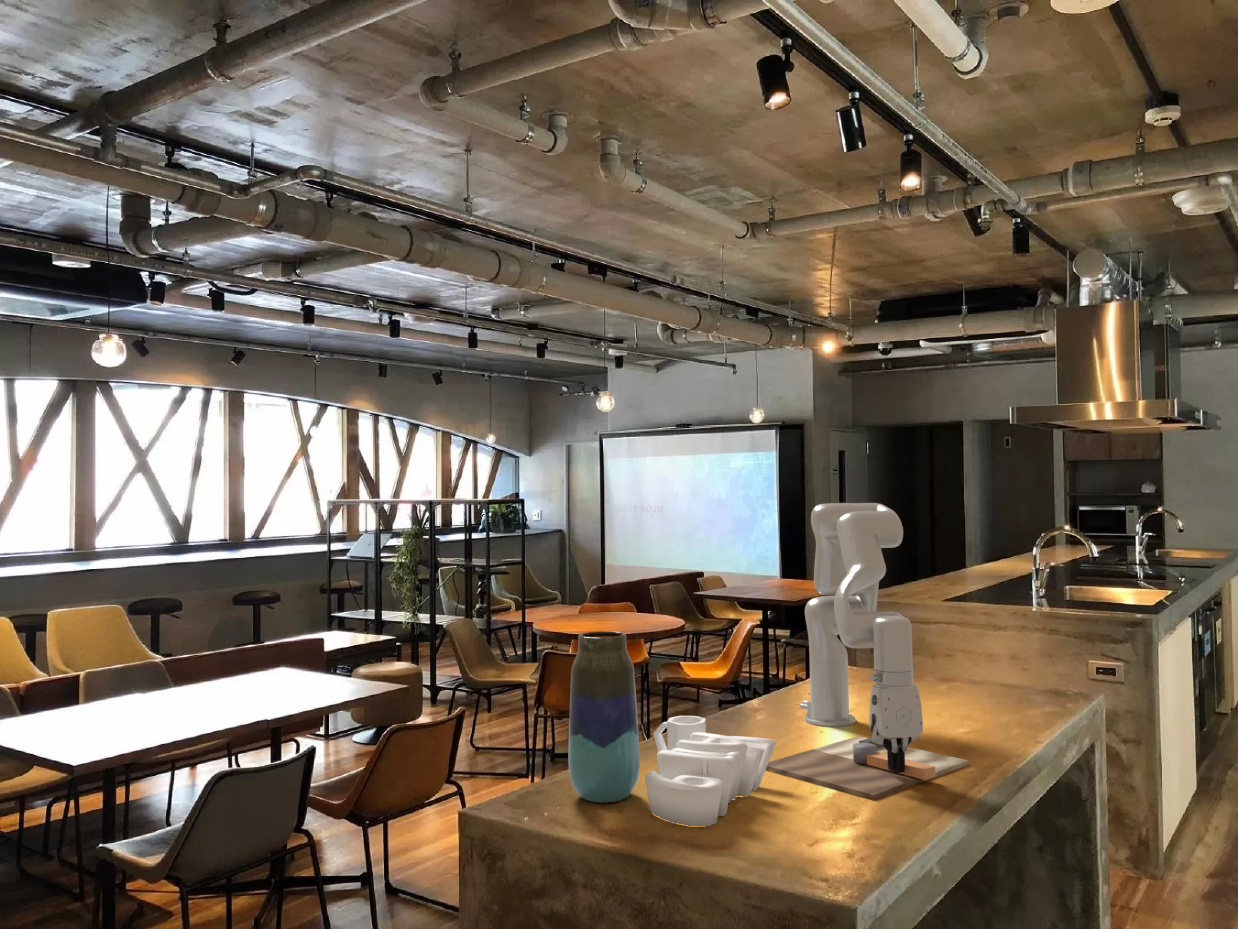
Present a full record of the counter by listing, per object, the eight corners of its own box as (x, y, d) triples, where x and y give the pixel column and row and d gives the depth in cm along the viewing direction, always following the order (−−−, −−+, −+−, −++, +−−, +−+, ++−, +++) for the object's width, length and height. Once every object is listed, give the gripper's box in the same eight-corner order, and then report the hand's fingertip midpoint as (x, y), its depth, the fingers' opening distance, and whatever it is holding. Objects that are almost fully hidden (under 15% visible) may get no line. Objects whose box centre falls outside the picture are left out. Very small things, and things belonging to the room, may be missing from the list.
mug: (713, 764, 204) (712, 718, 205) (695, 774, 197) (694, 726, 197) (664, 756, 211) (663, 712, 211) (645, 766, 203) (644, 720, 204)
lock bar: (848, 760, 201) (848, 745, 201) (863, 756, 204) (862, 741, 204) (922, 780, 186) (922, 764, 186) (937, 776, 189) (936, 759, 189)
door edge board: (761, 769, 200) (760, 754, 200) (858, 740, 222) (858, 727, 222) (873, 800, 179) (872, 784, 179) (969, 765, 200) (968, 751, 200)
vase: (616, 813, 174) (613, 641, 175) (554, 801, 181) (552, 636, 182) (653, 792, 185) (650, 631, 186) (594, 782, 193) (592, 627, 194)
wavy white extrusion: (711, 772, 198) (710, 722, 199) (786, 784, 190) (784, 731, 190) (625, 823, 168) (624, 763, 169) (709, 840, 160) (708, 776, 160)
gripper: (874, 684, 184) (877, 780, 183) (936, 678, 190) (939, 771, 189) (851, 678, 191) (854, 770, 190) (912, 672, 197) (914, 762, 196)
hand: (896, 770), depth 190 cm, fingers closed
